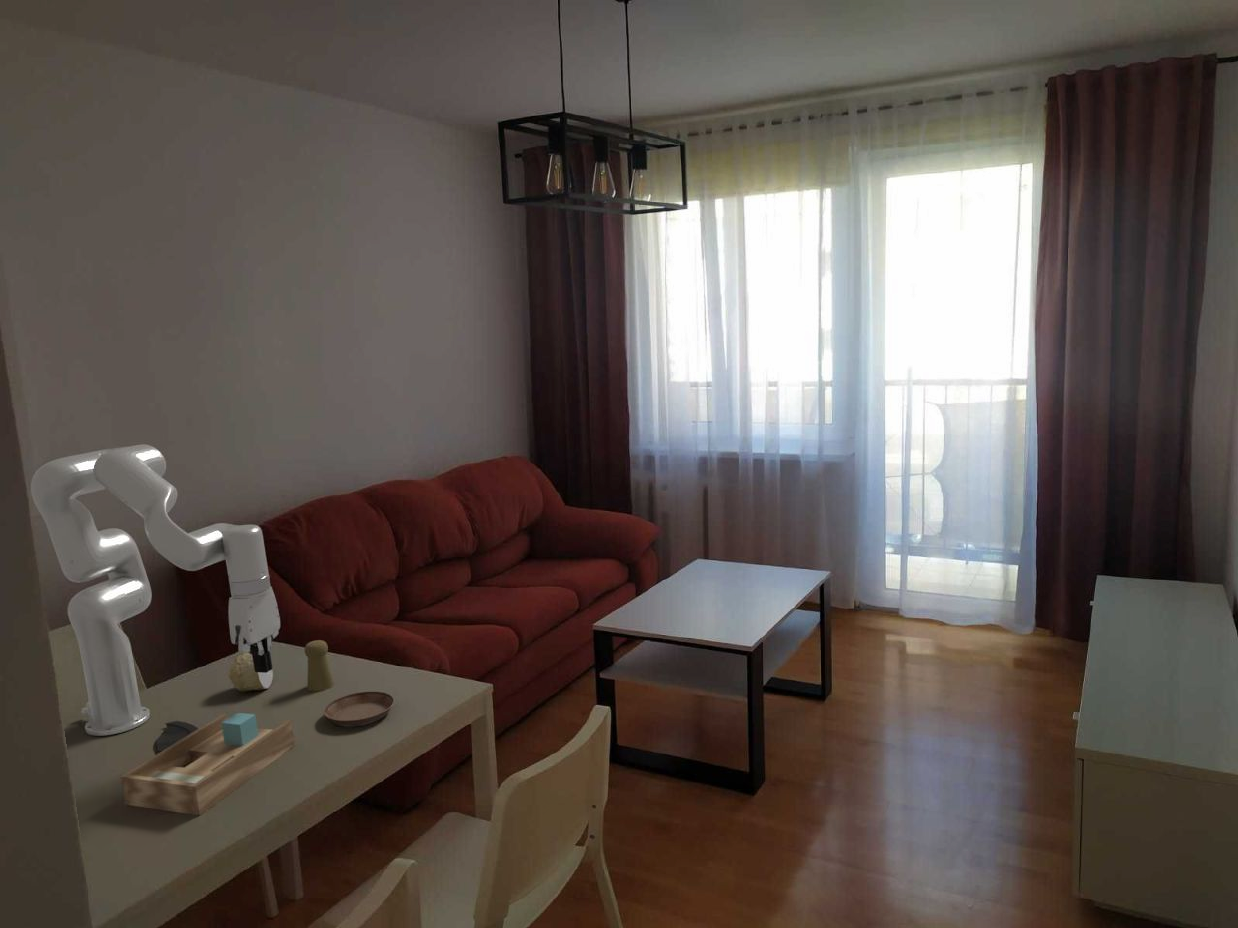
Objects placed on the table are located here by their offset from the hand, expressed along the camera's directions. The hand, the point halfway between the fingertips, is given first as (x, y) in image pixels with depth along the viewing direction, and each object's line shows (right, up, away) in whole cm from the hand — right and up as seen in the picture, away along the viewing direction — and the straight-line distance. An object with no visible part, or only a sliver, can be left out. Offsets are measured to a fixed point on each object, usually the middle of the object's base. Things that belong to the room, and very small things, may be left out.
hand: (263, 670), depth 185 cm
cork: (+3, -10, +27) cm, 29 cm away
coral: (-13, -11, +28) cm, 33 cm away
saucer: (+17, -12, +10) cm, 23 cm away
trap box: (-5, -17, -12) cm, 21 cm away
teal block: (-2, -13, -5) cm, 14 cm away
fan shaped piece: (-19, -16, +4) cm, 25 cm away
